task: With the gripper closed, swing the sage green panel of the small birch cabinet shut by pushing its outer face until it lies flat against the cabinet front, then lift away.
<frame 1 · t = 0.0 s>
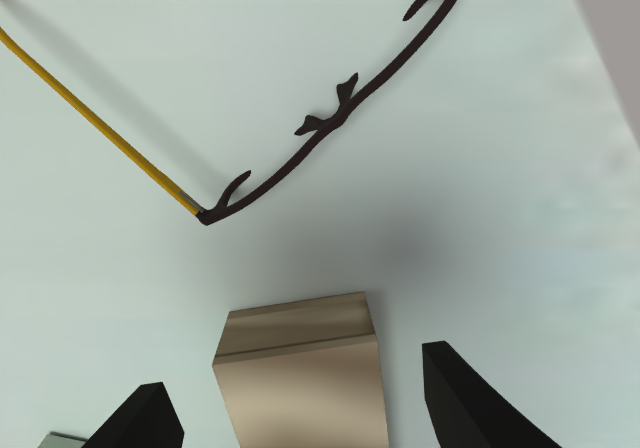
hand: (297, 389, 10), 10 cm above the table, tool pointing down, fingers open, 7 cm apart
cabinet: (316, 400, 24), on the table
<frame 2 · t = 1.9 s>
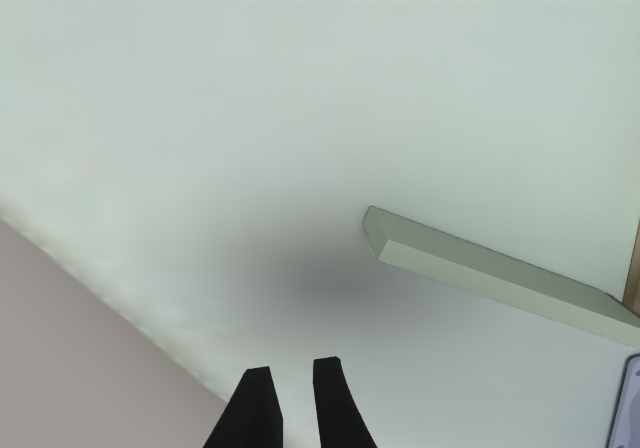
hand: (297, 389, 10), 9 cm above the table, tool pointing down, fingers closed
sage green panel: (518, 281, 17), point 2 cm above the table, hinge at 60.0°
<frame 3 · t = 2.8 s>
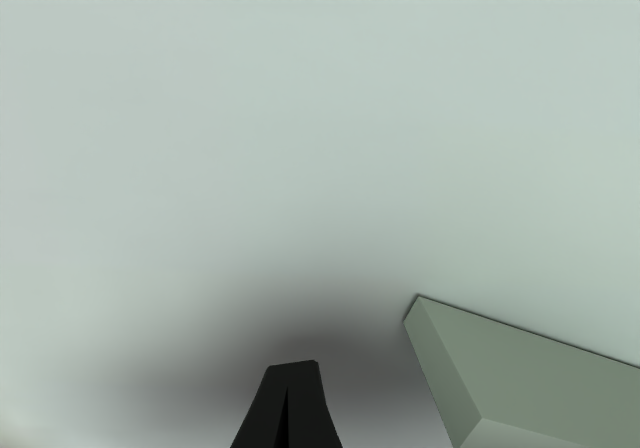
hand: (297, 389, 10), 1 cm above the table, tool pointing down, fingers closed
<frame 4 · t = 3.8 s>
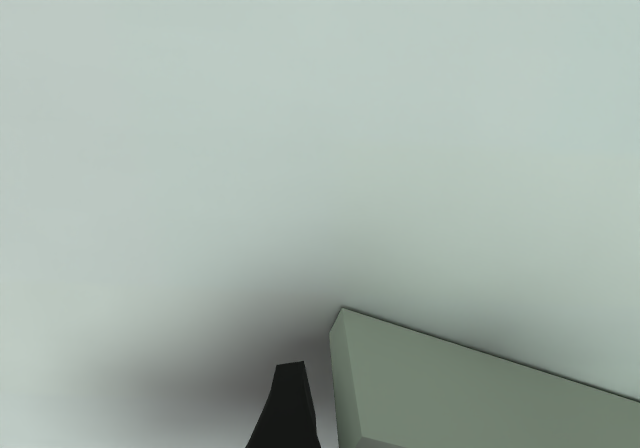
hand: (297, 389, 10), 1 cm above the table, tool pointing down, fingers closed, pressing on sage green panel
sage green panel: (597, 445, 10), point 2 cm above the table, hinge at 59.7°, touching gripper
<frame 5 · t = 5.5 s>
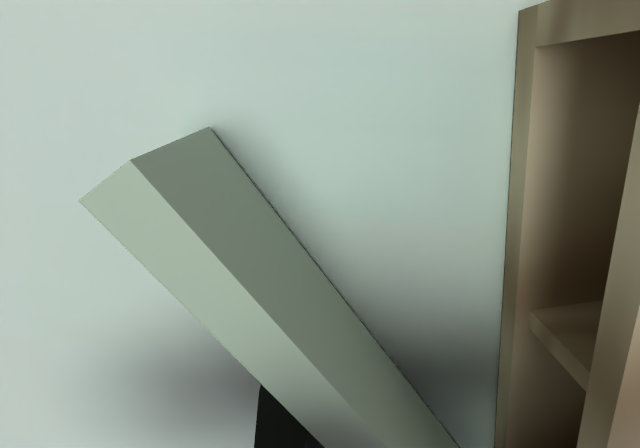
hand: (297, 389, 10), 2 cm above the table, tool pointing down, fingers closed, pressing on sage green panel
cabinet: (633, 288, 11), on the table
sage green panel: (373, 402, 9), point 2 cm above the table, hinge at 26.0°, touching gripper
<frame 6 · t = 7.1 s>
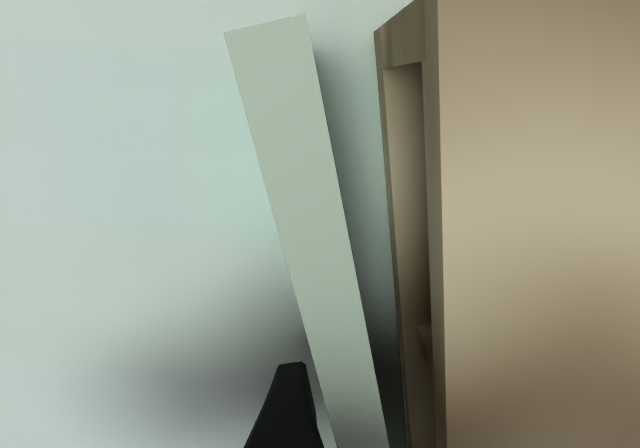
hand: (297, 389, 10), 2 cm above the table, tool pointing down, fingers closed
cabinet: (526, 301, 11), on the table
sage green panel: (354, 383, 9), point 2 cm above the table, hinge at 3.2°, touching gripper
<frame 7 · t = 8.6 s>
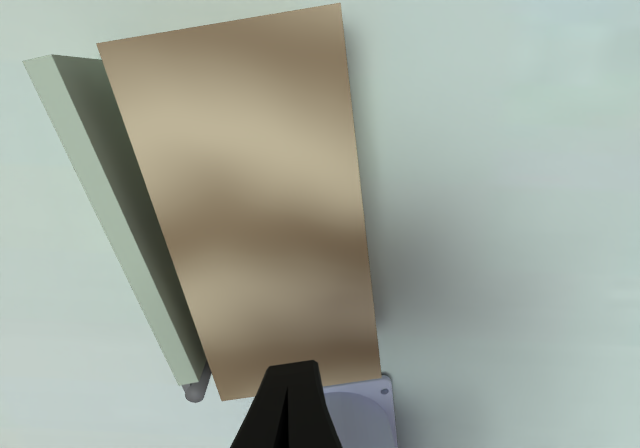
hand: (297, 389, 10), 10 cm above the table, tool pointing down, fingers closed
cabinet: (276, 210, 18), on the table
sage green panel: (153, 244, 16), point 2 cm above the table, hinge at 3.2°
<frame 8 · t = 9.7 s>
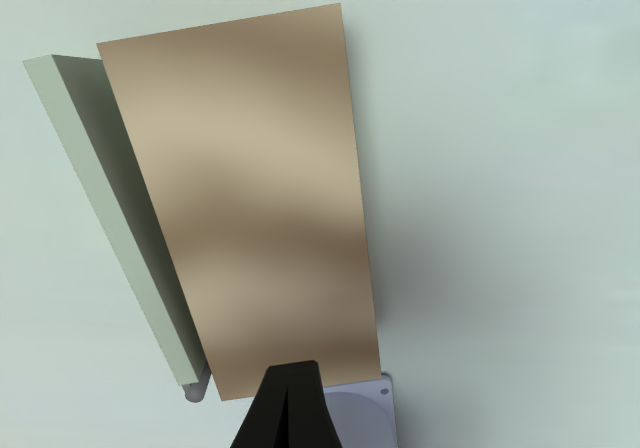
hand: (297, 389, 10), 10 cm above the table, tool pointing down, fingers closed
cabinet: (276, 210, 18), on the table
sage green panel: (153, 244, 16), point 2 cm above the table, hinge at 3.2°
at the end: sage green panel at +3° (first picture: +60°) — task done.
